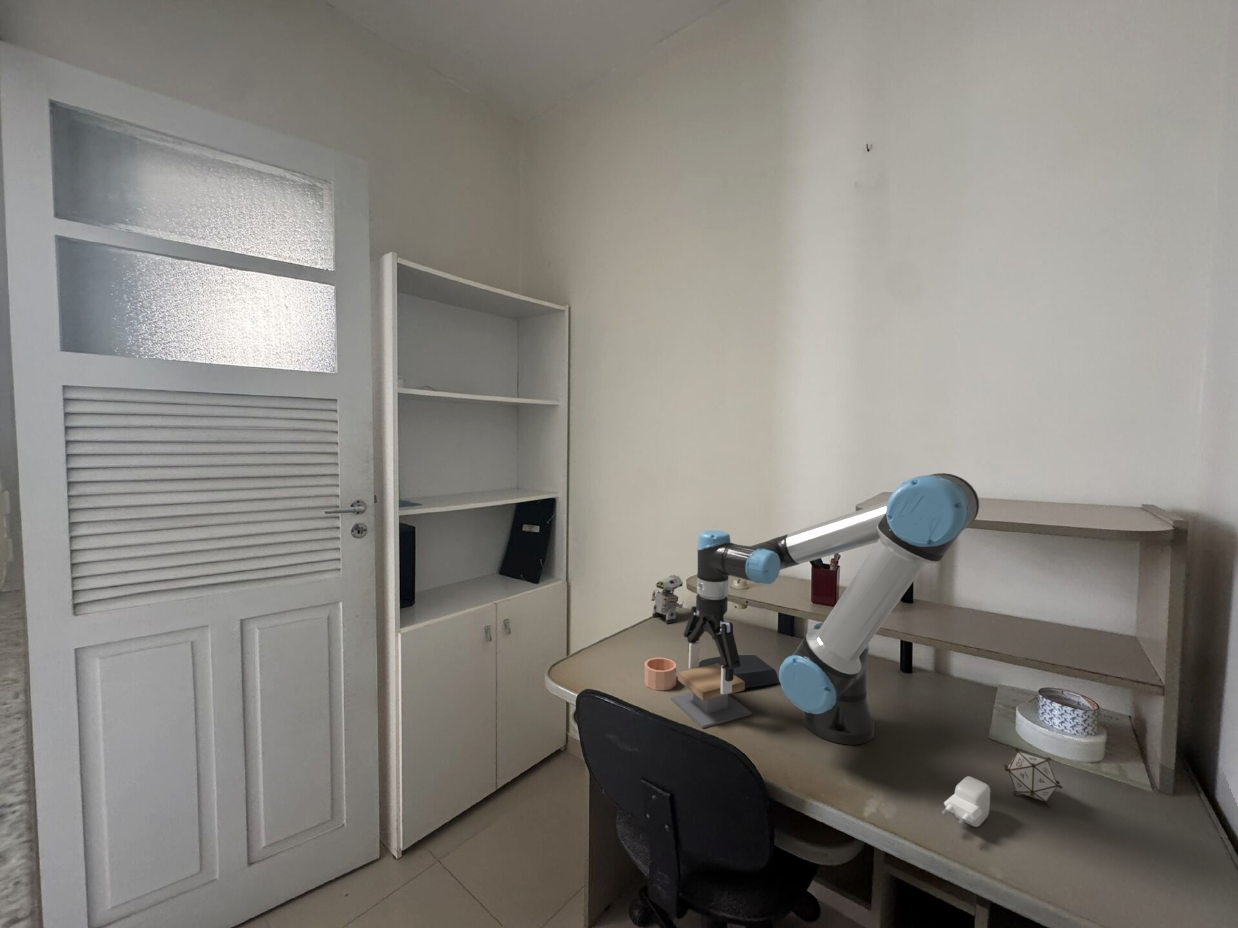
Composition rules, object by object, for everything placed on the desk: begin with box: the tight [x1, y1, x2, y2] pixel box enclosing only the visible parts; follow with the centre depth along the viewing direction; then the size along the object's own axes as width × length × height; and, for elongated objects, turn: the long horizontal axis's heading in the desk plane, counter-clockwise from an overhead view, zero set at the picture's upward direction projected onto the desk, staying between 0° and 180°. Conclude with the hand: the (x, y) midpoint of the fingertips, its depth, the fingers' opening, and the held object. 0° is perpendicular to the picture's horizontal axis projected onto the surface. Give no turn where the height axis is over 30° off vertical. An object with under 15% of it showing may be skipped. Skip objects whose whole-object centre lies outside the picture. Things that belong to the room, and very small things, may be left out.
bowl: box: [643, 657, 677, 691], centre depth 139 cm, size 8×8×5 cm
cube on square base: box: [670, 691, 752, 729], centre depth 127 cm, size 14×14×6 cm
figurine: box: [651, 574, 684, 625], centre depth 187 cm, size 9×12×15 cm
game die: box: [1002, 746, 1064, 808], centre depth 96 cm, size 9×8×10 cm
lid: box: [677, 663, 746, 701], centre depth 127 cm, size 11×12×2 cm
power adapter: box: [941, 775, 991, 828], centre depth 89 cm, size 11×5×6 cm, turn 126°
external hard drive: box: [698, 653, 780, 689], centre depth 142 cm, size 13×19×4 cm
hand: (709, 679), depth 127 cm, fingers open, 13 cm apart
